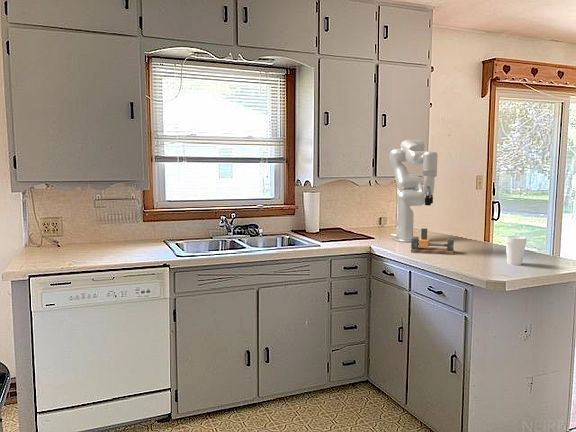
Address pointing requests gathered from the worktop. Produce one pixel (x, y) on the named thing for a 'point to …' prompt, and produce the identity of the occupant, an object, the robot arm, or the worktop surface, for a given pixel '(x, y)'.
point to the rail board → (433, 250)
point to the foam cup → (515, 249)
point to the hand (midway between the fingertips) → (428, 204)
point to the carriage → (423, 239)
